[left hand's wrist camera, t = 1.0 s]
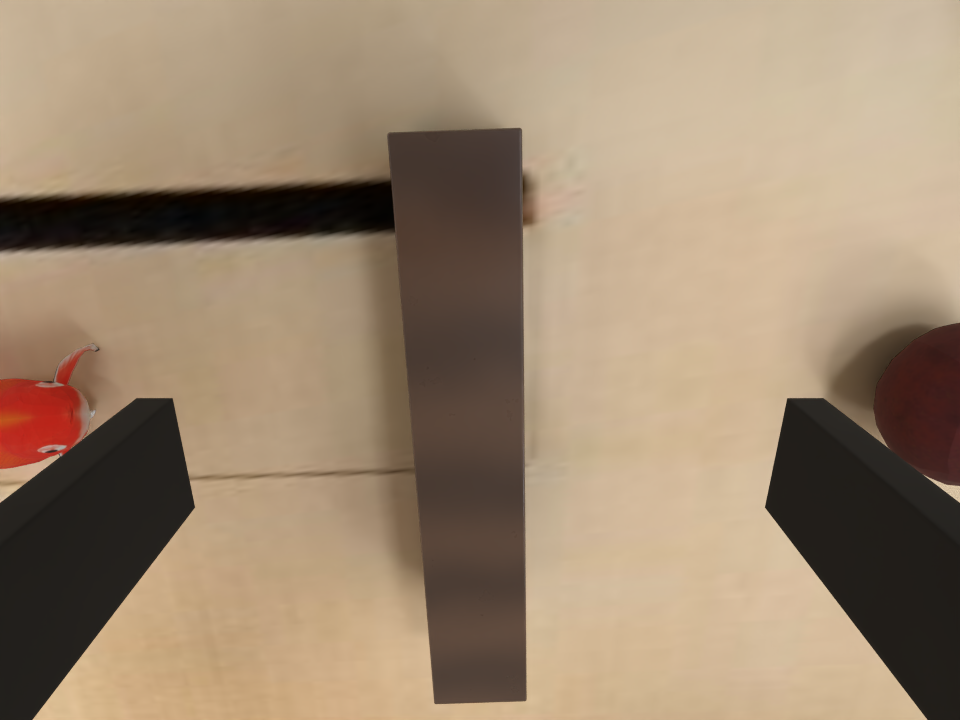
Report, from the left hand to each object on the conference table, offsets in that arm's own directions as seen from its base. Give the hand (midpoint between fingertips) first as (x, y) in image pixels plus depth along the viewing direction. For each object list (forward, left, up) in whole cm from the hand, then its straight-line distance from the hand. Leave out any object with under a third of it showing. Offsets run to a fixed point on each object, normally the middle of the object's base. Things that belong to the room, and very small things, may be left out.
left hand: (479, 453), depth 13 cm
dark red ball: (-9, +22, -18) cm, 30 cm away
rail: (+5, +3, -18) cm, 19 cm away
